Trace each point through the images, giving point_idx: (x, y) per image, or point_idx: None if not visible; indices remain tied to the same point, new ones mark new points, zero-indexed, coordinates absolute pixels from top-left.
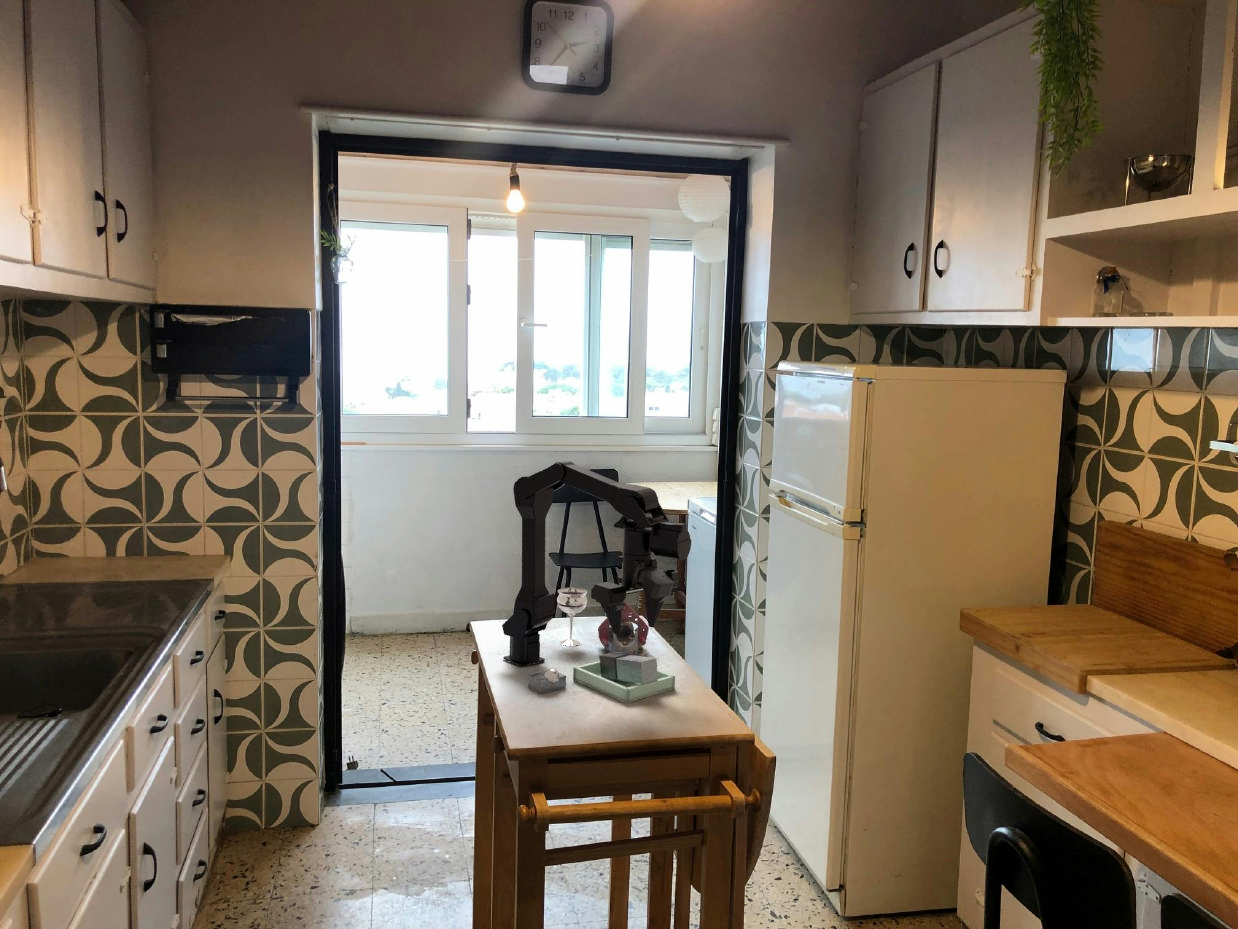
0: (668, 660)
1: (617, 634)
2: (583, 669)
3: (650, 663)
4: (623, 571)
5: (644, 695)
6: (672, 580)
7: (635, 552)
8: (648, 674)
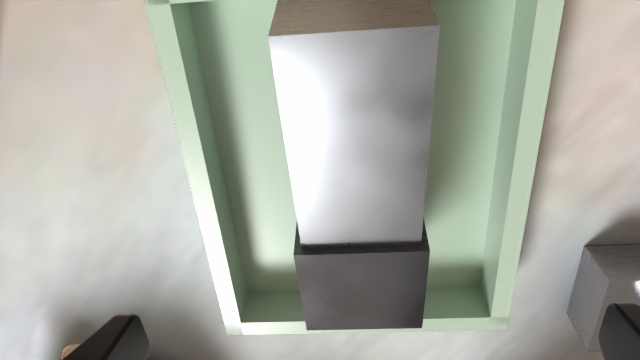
0: (6, 266)
1: (636, 309)
2: (494, 294)
3: (335, 21)
4: None
5: None
6: None
7: None
8: None
